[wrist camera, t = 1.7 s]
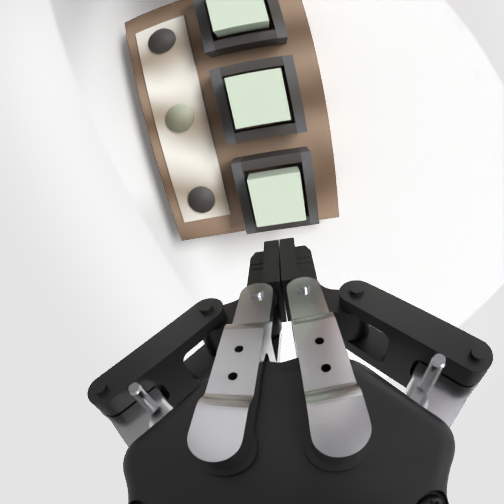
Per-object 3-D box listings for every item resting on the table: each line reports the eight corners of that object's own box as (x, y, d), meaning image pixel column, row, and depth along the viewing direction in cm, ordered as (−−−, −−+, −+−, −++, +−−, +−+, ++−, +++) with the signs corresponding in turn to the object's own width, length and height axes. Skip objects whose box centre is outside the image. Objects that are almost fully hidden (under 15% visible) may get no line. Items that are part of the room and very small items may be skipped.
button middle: (228, 80, 18) (224, 78, 16) (279, 71, 17) (280, 67, 15) (238, 127, 20) (235, 129, 18) (289, 118, 19) (291, 119, 17)
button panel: (135, 27, 18) (111, 17, 14) (292, -13, 15) (296, -34, 11) (188, 229, 30) (174, 253, 26) (333, 207, 27) (344, 228, 23)
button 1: (209, -1, 14) (203, -9, 12) (258, -11, 13) (257, -20, 11) (218, 37, 16) (213, 31, 14) (269, 27, 15) (268, 20, 13)
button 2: (248, 173, 22) (246, 180, 20) (297, 166, 21) (299, 171, 19) (258, 217, 24) (256, 227, 22) (303, 210, 23) (306, 220, 21)
